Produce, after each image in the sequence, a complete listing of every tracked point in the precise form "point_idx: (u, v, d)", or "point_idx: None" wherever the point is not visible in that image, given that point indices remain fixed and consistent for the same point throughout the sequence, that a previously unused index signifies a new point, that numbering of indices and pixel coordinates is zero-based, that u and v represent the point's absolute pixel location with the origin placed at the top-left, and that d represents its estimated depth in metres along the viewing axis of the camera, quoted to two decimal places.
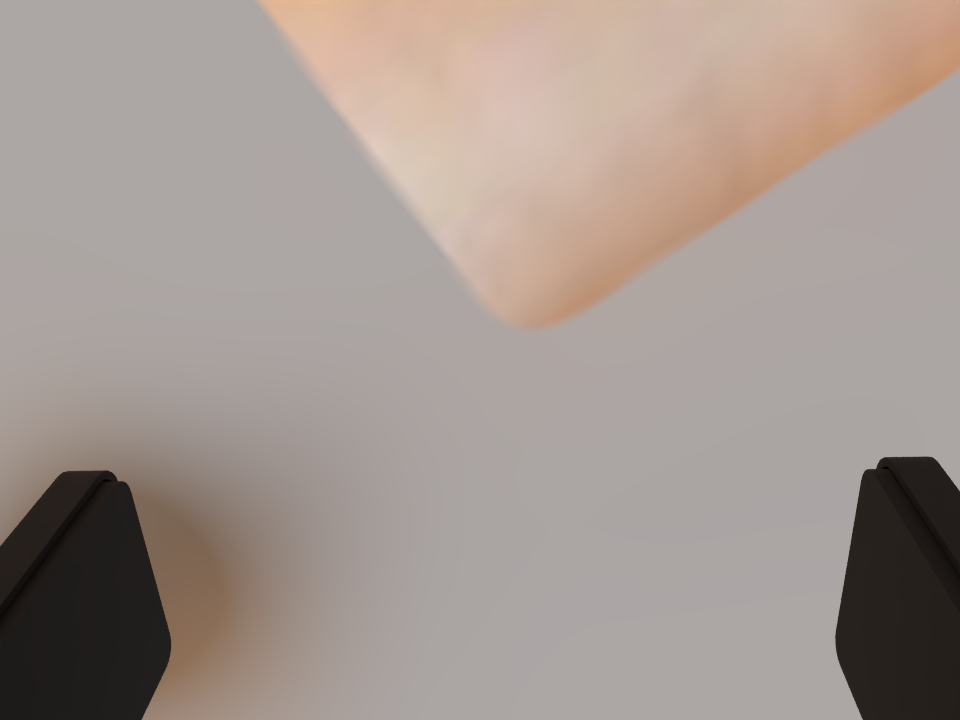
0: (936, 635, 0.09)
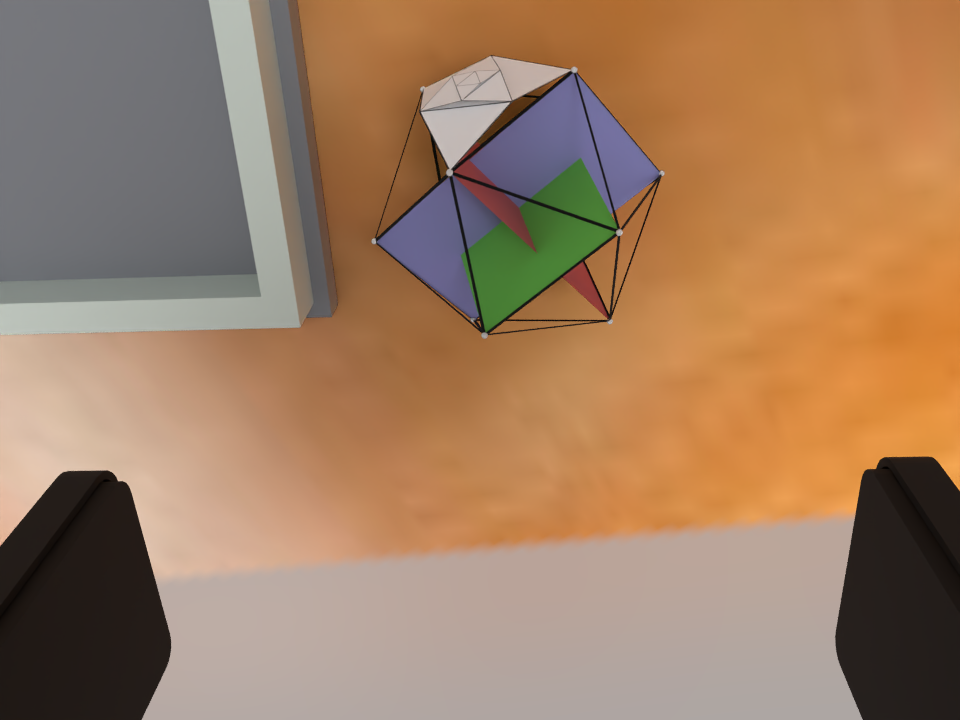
0: (936, 635, 0.09)
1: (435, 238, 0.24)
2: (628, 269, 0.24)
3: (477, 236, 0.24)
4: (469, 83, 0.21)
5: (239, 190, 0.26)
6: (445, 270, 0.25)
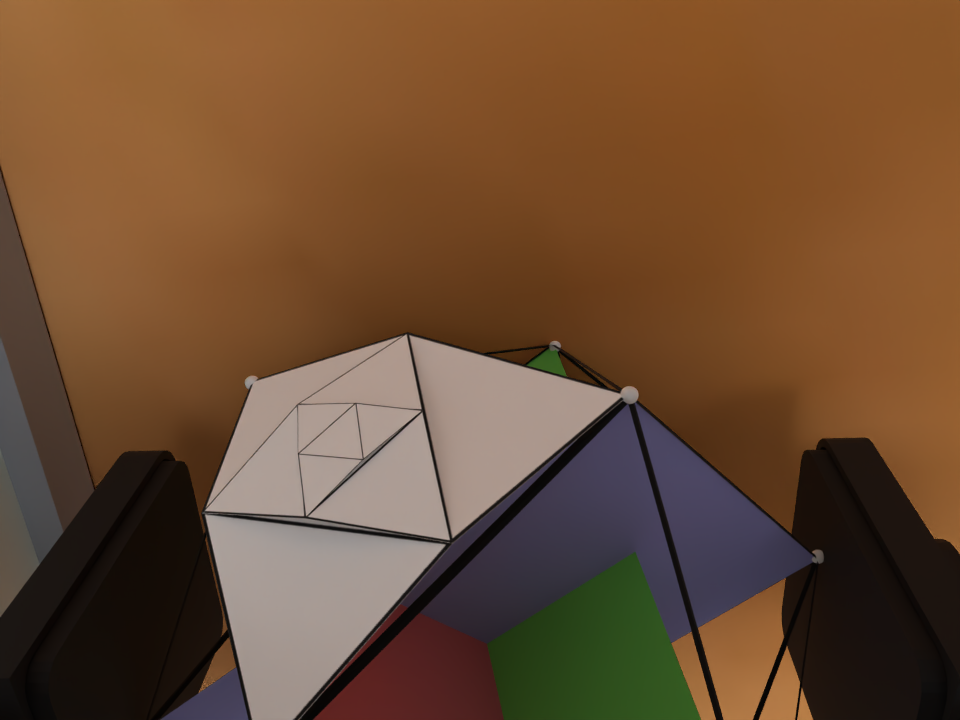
0: (860, 604, 0.09)
1: None
2: None
3: None
4: (334, 451, 0.07)
5: None
6: None
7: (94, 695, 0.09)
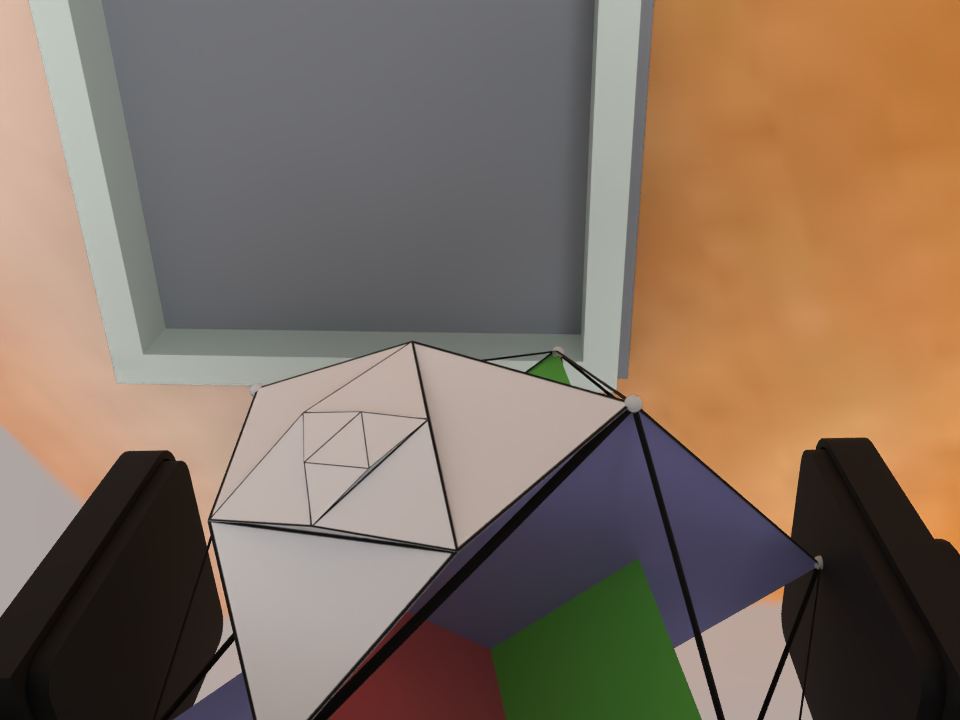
0: (859, 604, 0.09)
1: None
2: None
3: None
4: (340, 459, 0.07)
5: (559, 253, 0.26)
6: None
7: (94, 695, 0.09)
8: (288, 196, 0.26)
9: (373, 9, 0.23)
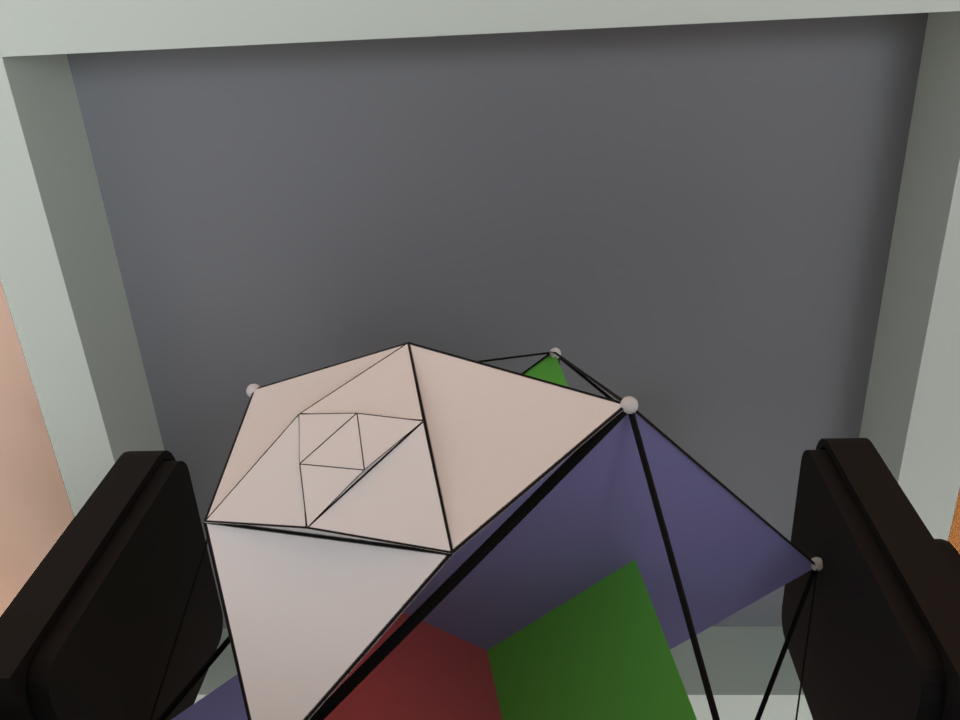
0: (859, 604, 0.09)
1: None
2: None
3: None
4: (335, 461, 0.07)
5: None
6: None
7: (94, 695, 0.09)
8: None
9: (537, 191, 0.15)
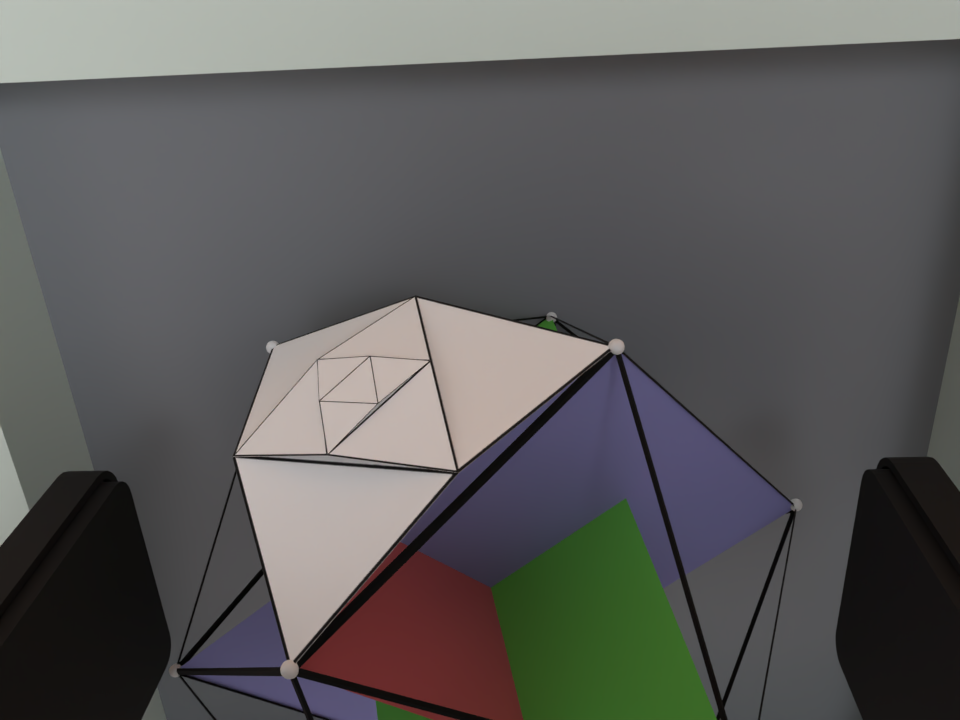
0: (936, 635, 0.09)
1: None
2: None
3: None
4: (351, 397, 0.08)
5: None
6: (341, 690, 0.12)
7: None
8: None
9: (541, 241, 0.12)
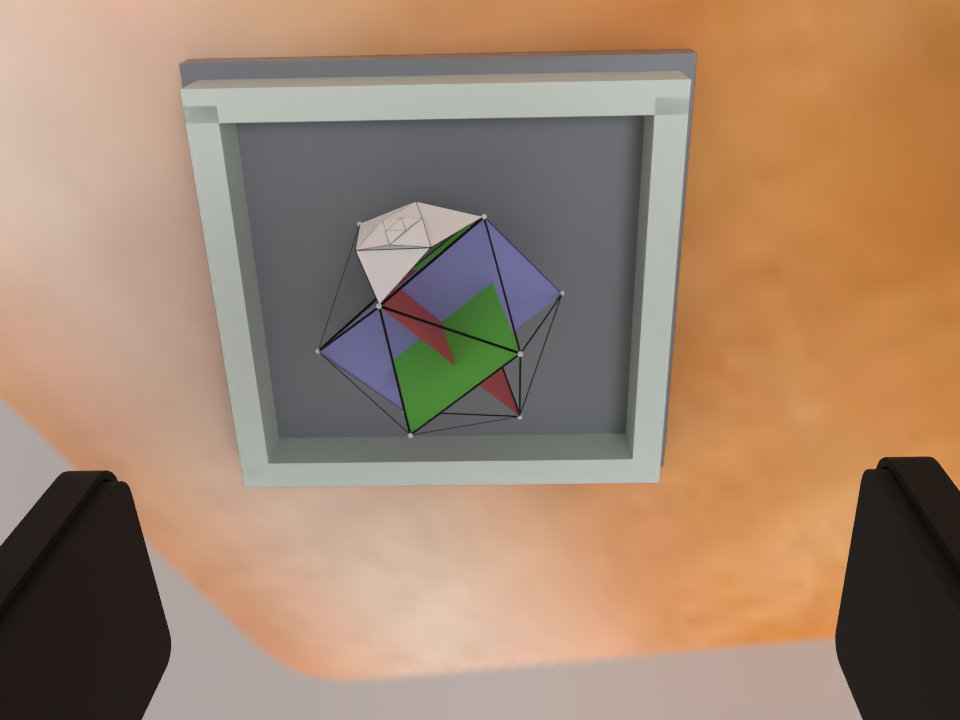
0: (936, 635, 0.09)
1: (370, 347, 0.28)
2: (534, 373, 0.28)
3: (406, 345, 0.28)
4: (396, 229, 0.25)
5: (609, 370, 0.32)
6: (379, 372, 0.29)
7: None
8: None
9: (464, 190, 0.29)
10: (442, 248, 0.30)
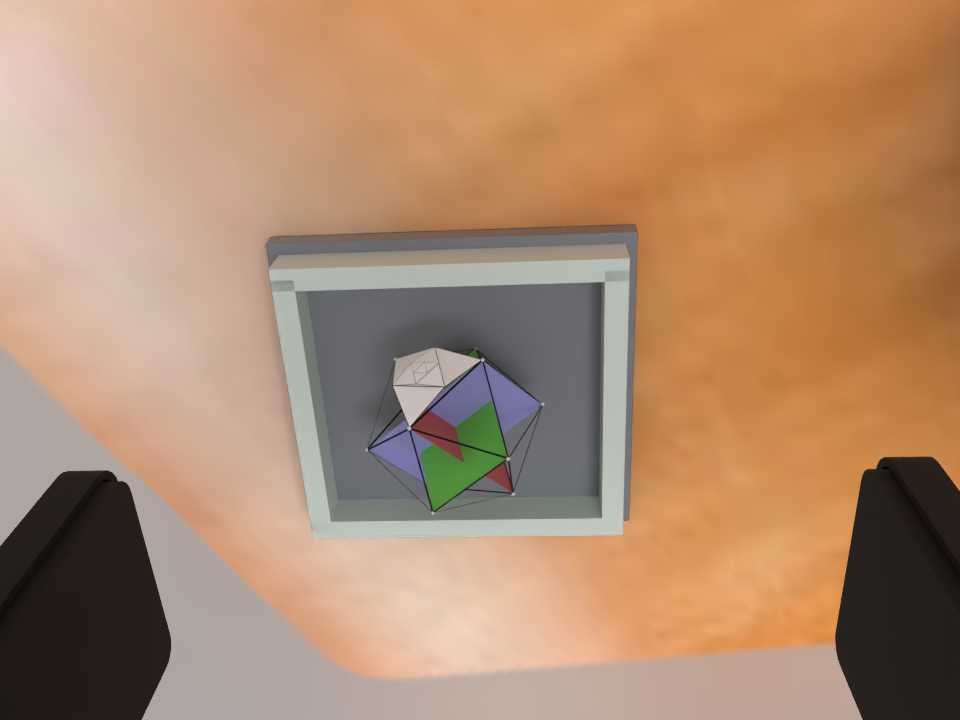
0: (936, 635, 0.09)
1: (404, 445, 0.39)
2: (523, 462, 0.39)
3: (430, 443, 0.39)
4: (420, 371, 0.36)
5: (584, 450, 0.43)
6: (411, 461, 0.40)
7: None
8: None
9: (471, 326, 0.40)
10: None
